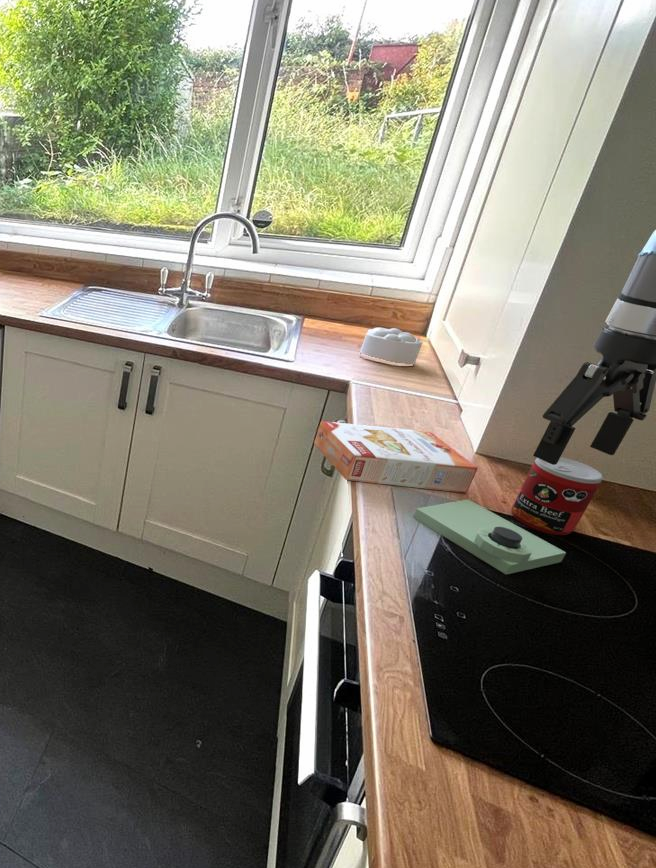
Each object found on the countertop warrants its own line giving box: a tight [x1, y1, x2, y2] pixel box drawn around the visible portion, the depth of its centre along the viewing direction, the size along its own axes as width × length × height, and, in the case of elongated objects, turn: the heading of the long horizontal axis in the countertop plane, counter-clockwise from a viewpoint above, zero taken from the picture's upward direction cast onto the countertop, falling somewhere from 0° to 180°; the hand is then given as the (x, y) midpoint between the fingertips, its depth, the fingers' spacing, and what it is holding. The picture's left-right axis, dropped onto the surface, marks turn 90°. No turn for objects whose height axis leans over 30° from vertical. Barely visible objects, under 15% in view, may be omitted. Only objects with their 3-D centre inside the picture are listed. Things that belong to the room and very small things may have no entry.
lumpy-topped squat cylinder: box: [359, 326, 423, 364], centre depth 168 cm, size 10×13×9 cm
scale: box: [412, 499, 567, 575], centre depth 93 cm, size 14×12×4 cm
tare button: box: [490, 527, 522, 549], centre depth 88 cm, size 3×3×2 cm
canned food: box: [511, 456, 604, 536], centre depth 97 cm, size 8×8×11 cm
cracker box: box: [313, 420, 479, 494], centre depth 112 cm, size 14×6×21 cm
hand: (573, 455), depth 94 cm, fingers open, 13 cm apart
